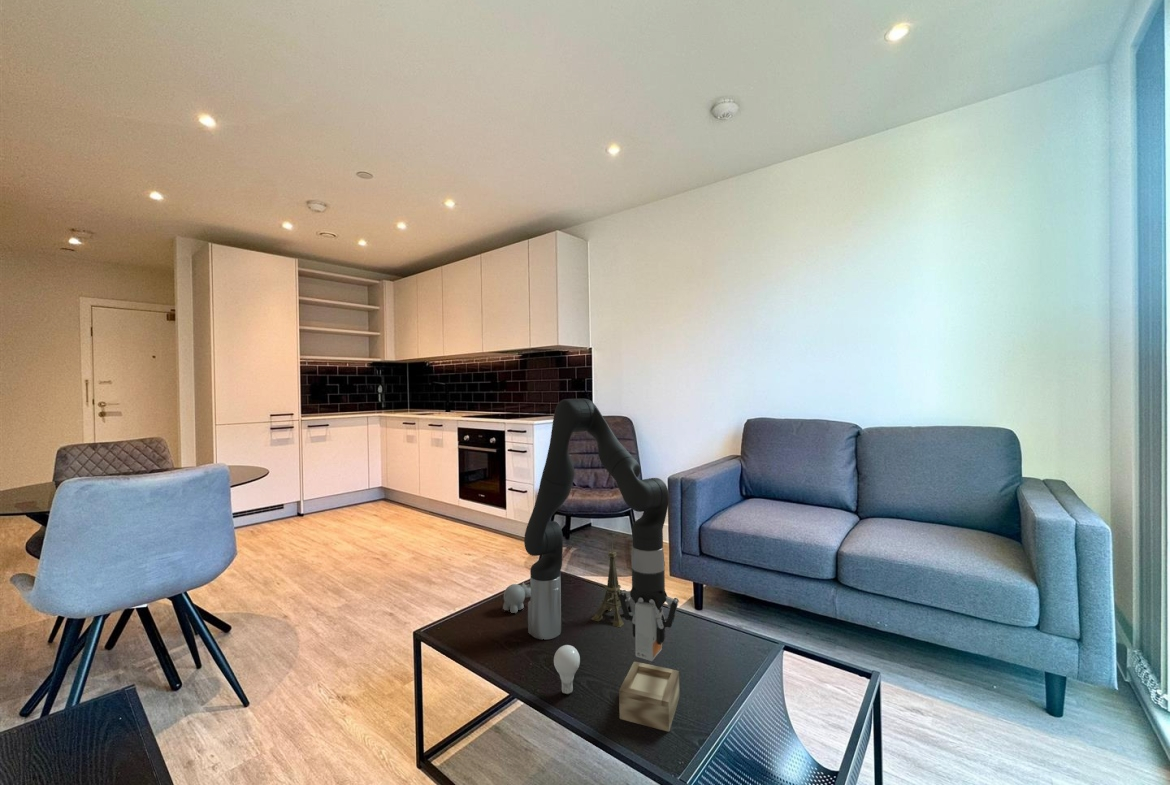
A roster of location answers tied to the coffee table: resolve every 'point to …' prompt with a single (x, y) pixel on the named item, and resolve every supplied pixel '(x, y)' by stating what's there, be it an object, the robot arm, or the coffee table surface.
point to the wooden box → (649, 696)
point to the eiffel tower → (611, 594)
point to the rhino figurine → (516, 597)
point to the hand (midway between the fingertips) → (649, 640)
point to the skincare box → (646, 632)
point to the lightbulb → (567, 666)
